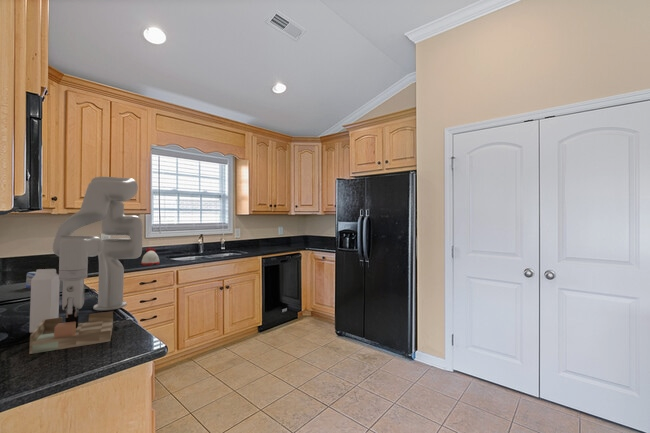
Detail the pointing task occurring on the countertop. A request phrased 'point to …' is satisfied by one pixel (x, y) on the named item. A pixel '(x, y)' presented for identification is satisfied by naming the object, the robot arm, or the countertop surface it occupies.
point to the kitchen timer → (150, 257)
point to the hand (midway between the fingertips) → (71, 328)
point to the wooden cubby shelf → (85, 335)
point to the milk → (44, 297)
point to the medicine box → (29, 279)
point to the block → (65, 329)
